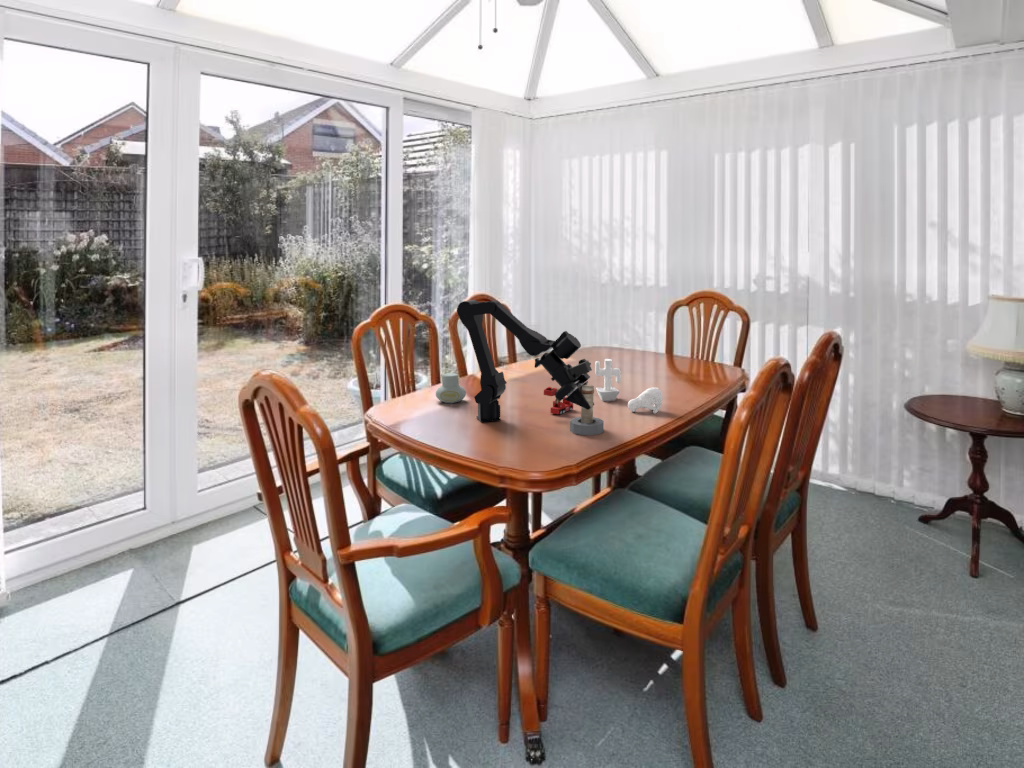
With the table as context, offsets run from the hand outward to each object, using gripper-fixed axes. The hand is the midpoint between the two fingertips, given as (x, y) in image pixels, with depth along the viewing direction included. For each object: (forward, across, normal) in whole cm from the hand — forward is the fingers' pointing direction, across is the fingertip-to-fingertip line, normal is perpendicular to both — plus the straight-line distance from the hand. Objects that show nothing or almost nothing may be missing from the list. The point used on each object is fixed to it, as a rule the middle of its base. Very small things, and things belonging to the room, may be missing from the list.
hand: (591, 407), depth 195 cm
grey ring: (+4, 0, +6) cm, 8 cm away
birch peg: (+4, 0, +6) cm, 7 cm away
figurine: (+2, +41, +9) cm, 42 cm away
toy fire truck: (-6, +17, +17) cm, 24 cm away
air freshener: (-35, +17, +46) cm, 61 cm away
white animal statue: (+13, +29, -2) cm, 32 cm away
